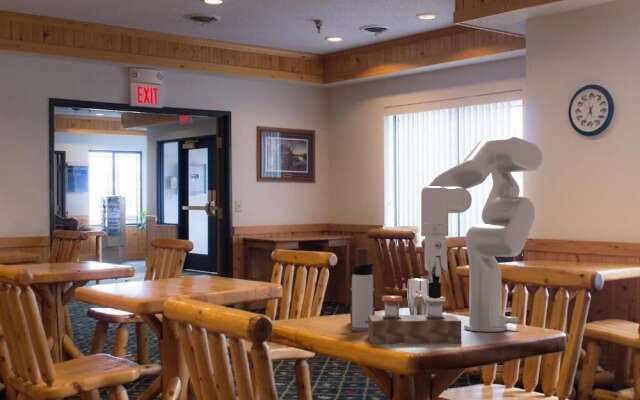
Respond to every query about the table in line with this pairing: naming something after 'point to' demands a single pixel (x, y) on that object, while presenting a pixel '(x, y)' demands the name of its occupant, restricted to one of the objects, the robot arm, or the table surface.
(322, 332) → the table surface
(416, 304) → the beer glass
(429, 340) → the socket board
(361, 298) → the travel mug
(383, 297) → the plug terracotta
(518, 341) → the table surface
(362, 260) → the beer bottle
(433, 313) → the plug cream
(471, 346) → the table surface
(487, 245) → the robot arm
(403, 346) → the table surface
